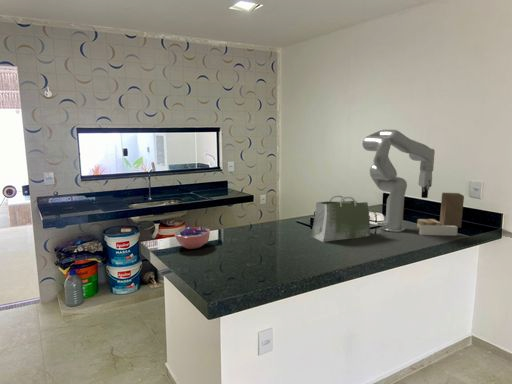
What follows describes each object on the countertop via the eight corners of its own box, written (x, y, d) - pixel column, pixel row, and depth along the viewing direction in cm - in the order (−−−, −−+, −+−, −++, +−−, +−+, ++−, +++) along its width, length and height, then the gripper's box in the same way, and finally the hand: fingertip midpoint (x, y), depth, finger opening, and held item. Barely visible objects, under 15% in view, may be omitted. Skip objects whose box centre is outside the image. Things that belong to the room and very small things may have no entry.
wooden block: (461, 228, 231) (464, 195, 228) (443, 227, 233) (446, 195, 230) (456, 224, 241) (459, 193, 238) (439, 223, 243) (441, 192, 240)
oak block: (423, 230, 226) (424, 222, 225) (417, 227, 235) (417, 219, 234) (440, 230, 226) (441, 222, 225) (433, 226, 235) (433, 219, 234)
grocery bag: (355, 230, 227) (357, 191, 223) (371, 236, 214) (373, 195, 210) (309, 236, 214) (310, 195, 210) (323, 242, 202) (324, 199, 198)
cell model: (218, 244, 198) (218, 223, 196) (193, 255, 181) (193, 232, 179) (193, 239, 207) (192, 219, 205) (167, 249, 190) (166, 227, 188)
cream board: (420, 234, 216) (421, 226, 215) (418, 233, 219) (419, 225, 218) (456, 235, 215) (457, 227, 214) (454, 234, 218) (455, 225, 217)
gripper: (416, 167, 242) (414, 195, 246) (424, 169, 228) (422, 199, 231) (428, 167, 242) (426, 195, 245) (437, 169, 227) (435, 200, 230)
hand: (424, 197), depth 238 cm, fingers closed
